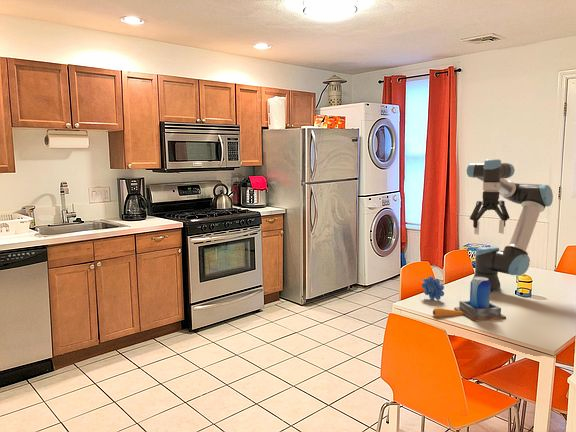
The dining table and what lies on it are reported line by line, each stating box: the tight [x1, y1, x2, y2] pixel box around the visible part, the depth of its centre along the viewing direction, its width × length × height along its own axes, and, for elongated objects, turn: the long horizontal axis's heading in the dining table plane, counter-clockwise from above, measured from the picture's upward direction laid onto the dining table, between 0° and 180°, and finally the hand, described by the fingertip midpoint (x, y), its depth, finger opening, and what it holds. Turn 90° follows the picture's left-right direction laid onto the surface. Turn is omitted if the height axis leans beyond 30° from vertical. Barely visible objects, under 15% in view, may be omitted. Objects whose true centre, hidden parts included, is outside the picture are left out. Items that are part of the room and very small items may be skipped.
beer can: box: [469, 276, 491, 309], centre depth 207 cm, size 8×8×16 cm
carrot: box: [432, 307, 464, 318], centre depth 207 cm, size 20×4×4 cm, turn 101°
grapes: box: [421, 275, 445, 301], centre depth 229 cm, size 12×7×12 cm, turn 55°
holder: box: [453, 300, 507, 322], centre depth 208 cm, size 16×16×4 cm
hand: (488, 233), depth 222 cm, fingers open, 13 cm apart
